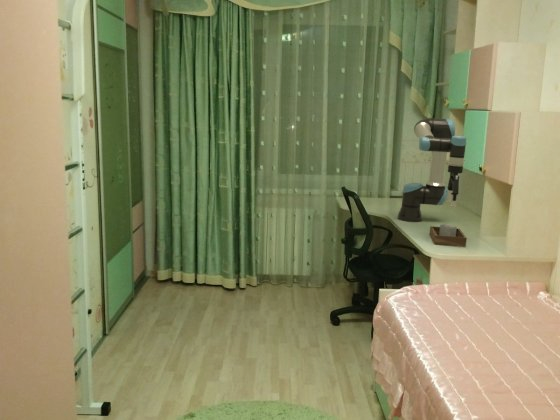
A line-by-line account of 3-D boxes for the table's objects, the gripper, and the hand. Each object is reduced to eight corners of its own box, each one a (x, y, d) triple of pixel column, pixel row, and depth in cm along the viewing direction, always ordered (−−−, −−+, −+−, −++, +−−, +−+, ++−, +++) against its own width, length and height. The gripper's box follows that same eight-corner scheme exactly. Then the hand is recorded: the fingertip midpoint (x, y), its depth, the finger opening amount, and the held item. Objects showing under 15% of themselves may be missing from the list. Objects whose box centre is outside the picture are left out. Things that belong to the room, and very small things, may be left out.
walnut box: (429, 234, 304) (430, 226, 303) (458, 237, 302) (459, 228, 301) (434, 244, 283) (435, 235, 282) (465, 247, 280) (466, 238, 279)
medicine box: (455, 242, 290) (457, 226, 289) (450, 243, 288) (452, 227, 286) (443, 238, 297) (445, 223, 295) (438, 239, 294) (440, 224, 292)
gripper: (467, 168, 271) (462, 209, 275) (459, 163, 296) (454, 201, 300) (452, 167, 272) (447, 208, 277) (445, 162, 297) (440, 200, 301)
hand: (451, 204), depth 288 cm, fingers open, 13 cm apart
